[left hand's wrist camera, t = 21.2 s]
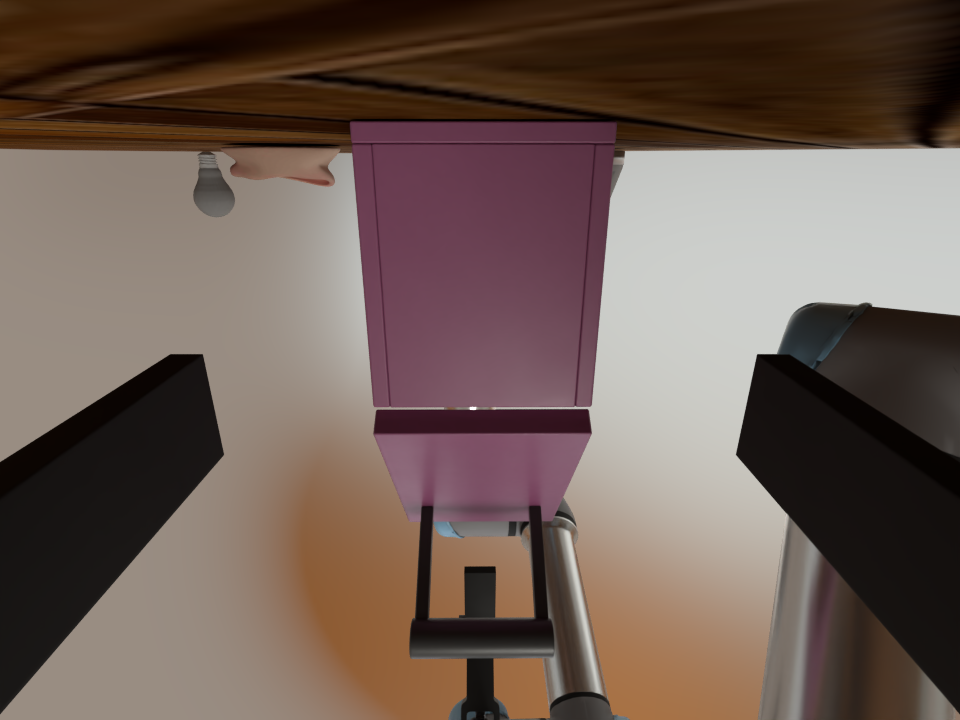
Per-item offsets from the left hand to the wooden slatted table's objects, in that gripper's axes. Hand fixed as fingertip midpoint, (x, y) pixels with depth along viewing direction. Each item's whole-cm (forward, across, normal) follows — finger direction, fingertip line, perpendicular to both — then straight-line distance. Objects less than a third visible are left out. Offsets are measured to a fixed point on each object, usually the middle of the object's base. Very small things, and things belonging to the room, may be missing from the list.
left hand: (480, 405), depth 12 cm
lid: (+13, 0, +10) cm, 17 cm away
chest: (+15, 0, -7) cm, 16 cm away
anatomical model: (+44, +20, -7) cm, 49 cm away
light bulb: (+76, +43, -7) cm, 88 cm away
